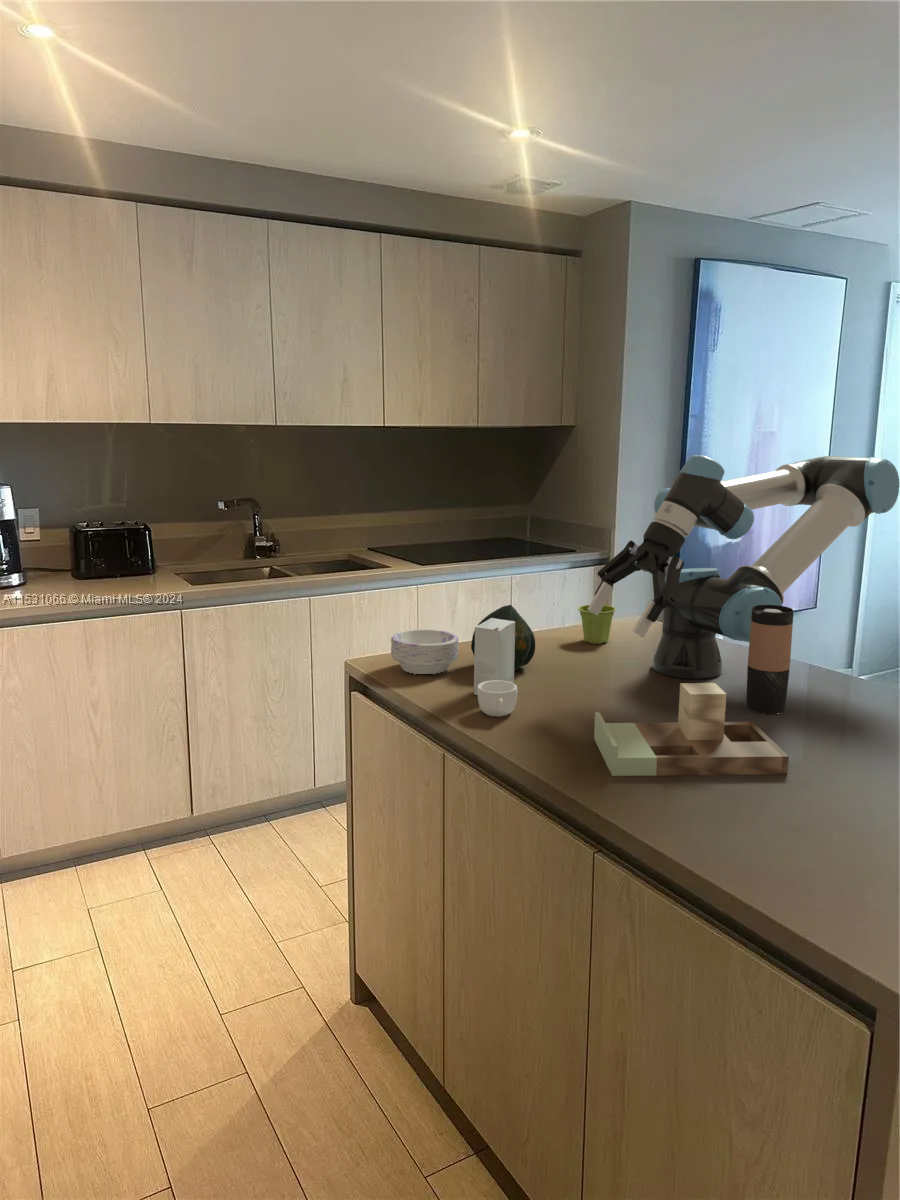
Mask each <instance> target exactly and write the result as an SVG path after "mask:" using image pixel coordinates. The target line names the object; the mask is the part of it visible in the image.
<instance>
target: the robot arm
mask: <svg viewBox="0 0 900 1200" xmlns="http://www.w3.org/2000/svg"><path fill="white" fill-rule="evenodd" d="M724 475H725V469H724V467H723V466H722V465H721V464H720V463H719V462H717V461H716V460H714V459H712V458H710V457H708V456H705V455H701V454H694V455H692V456H690V457H689V458H688V460H686V462H685V464H684V465H683V466H682V468H681V470H680V471H679V473H678V475H677V477H676V478H675V480H674V481H673V484H672V486H671V487H667V488H663V489H662V490H660V491H659V492H658V493H657V495H656V497H655V500H654V504H653V505H654V507H653V508H654V512H655V515H654V517H653V519H654V520H653V521H652V522H650V523H649V525H648V527H647V528H646V529H645V532H644V534H643V536H642V537H643V541H642V543H640V545H639V544H637V543H636V542H635V541H633V540H629V541H628V542H627V543H626V545H625V547H624V548H623V549H622V550H621V551H620V552H619V553H617V554H616V555H615V556H614V557H613V558H612V559H610V561H609V562H607V563H606V564H605V565H603V567H602V568H601V569H600V570H598V571H597V576H598V577H599V578H600V580H601V582H600V584H599V585H598V587H597V589H596V591H595V592H594V597H593V598H592V600H591V602H590V603H589V604H588V605H589V607H588V609H587V610H589V611H590V612H592V613H593V614H595V615H597V616H598V615H599V613H600V611H601V609H602V608H603V606H604V605H606V603H607V601H608V599H609V597H610V595H612V592H613V591H614V589H615V588H614V585H615V584H616V583H618V582H619V581H622V580H623V579H625V578H627V577H628V576H630V575H631V574H633V573H635V572H640V571H644V572H645V573H646V572H648V573H650V574H651V575H652V587H653V588H652V589H653V599H652V601H651V600H650V601H649V602H648V604H647V606H646V607H645V608H644V611H643V612H642V614H641V616H640V617H639V619H638V621H637V623H636V624H635V626H634V628H633V629H632V631H633V632H634V633H635V634H636V635H638V636H639V637H641V638H644V637H645V636H646V634H647V633H648V631H649V629H650V628H651V626H652V624H653V623H656V621H657V620H658V619H659V617H660V615H661V613H662V625H661V628H662V629H661V630H662V632H661V636H660V639H659V642H658V644H657V648H656V650H655V653H654V655H653V658H652V669H653V670H654V671H655V672H658V673H659V674H662V675H664V676H667V677H668V676H670V677H674V678H681V679H690V680H691V679H692V680H693V679H697V680H698V679H699V680H701V679H710V678H714V677H718V676H719V675H721V674H723V673H722V672H723V660H722V657H721V652H720V649H719V646H718V642H717V635H720V636H724V637H726V638H729V639H730V640H733V641H739V642H745V643H749V641H750V628H751V616H752V607H754V606H757V605H778V606H783V604H784V602H785V600H784V599H785V598H784V593H785V592H786V591H787V590H788V589H789V588H790V587H791V586H792V584H794V583H795V582H796V581H797V579H798V578H800V577H801V576H802V575H803V574H804V572H805V571H806V570H807V569H808V568H809V567H810V566H811V565H812V564H813V563H814V562H815V561H816V560H817V559H818V558H819V557H820V556H821V555H822V554H823V553H824V552H825V551H826V550H827V549H828V548H829V546H830V545H831V544H833V543H834V541H836V539H837V538H839V536H840V535H841V534H842V533H843V532H845V530H846V529H847V528H848V527H850V528H852V527H857V526H859V525H861V524H862V523H863V522H864V521H865V520H866V519H867V518H868V517H870V515H871V514H873V513H875V514H878V515H880V514H885V513H887V512H889V511H890V510H892V508H894V506H895V504H896V503H897V501H898V497H899V495H900V476H899V472H898V470H897V468H896V466H895V465H894V463H892V461H890V460H889V459H886V458H880V457H875V456H871V457H856V456H855V457H854V456H837V455H826V456H819V457H814V458H809V459H804V460H800V461H795V462H791V463H787V464H783V465H780V466H779V467H777V468H776V469H775V470H774V471H767V472H764V473H763V472H762V473H757V474H752V475H748V476H741V477H736V478H732V479H726V480H723V477H724ZM780 504H781V505H783V506H786V507H792V506H798V505H799V506H800V505H802V506H809V507H808V508H807V510H805V512H804V513H802V515H800V516H799V517H798V519H797V520H796V521H795V522H793V524H792V525H791V526H789V527H788V528H787V530H785V532H784V533H783V534H782V535H780V537H778V538H777V540H776V541H775V542H774V543H773V544H771V546H770V547H769V548H768V549H767V550H766V551H764V552H763V554H762V555H761V556H760V557H758V559H756V561H755V562H754V563H753V564H752V565H741V566H740V567H738V568H737V570H735V571H734V572H733V573H732V574H731V575H730V576H729V577H728V578H721V573H720V570H719V569H718V568H716V567H715V568H714V567H713V568H712V567H696V568H695V567H693V568H684V566H685V561H683V560H682V558H680V557H679V556H677V555H678V554H679V553H680V551H681V549H682V547H683V546H684V543H685V542H686V539H685V538H687V537H689V535H690V534H691V532H692V530H693V529H694V527H696V528H701V529H702V528H704V529H710V530H714V531H717V532H718V533H719V534H720V535H721V536H723V537H725V538H727V539H729V540H737V539H740V538H742V537H744V536H745V535H746V534H747V533H748V532H749V531H750V530H751V528H752V526H753V524H754V521H755V514H754V511H753V510H756V509H762V508H766V507H770V506H777V505H780ZM666 568H667V569H666ZM666 570H667V571H666ZM666 572H667V573H666Z"/></svg>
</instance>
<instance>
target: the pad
mask: <svg viewBox="0 0 900 1200" xmlns="http://www.w3.org/2000/svg"><path fill="white" fill-rule="evenodd" d="M635 723H636V722H605V720H604V718H603V716H602V715H601V712H598V711H596V712H594V731H593V732H594V735H593V736H594V737H593V740H594V741H595V744H596V746H597V748H598V749H599V752H600V754H601V756H602V758H603V760H604V762H605V764H606V766H607V769H608V771H609V773H610V774H611V776H612V777H625V776H626V777H628V776H629V777H634V776H637V777H638V776H641V777H642V776H646V777H648V776H650V777H651V776H656V777H657V775H656V766H657V757H656V756H655V754H654V752H653V751H652V749H651V748H650V746H649V745H648V743H647V742H646V740H645V739H644V737H643V736H642V734H641V732H640V731H639V729H638V728H637V726H636V725H635Z"/></svg>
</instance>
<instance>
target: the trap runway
mask: <svg viewBox="0 0 900 1200" xmlns="http://www.w3.org/2000/svg"><path fill="white" fill-rule="evenodd" d="M634 723H635V725H636V726H637V728H638V729H639V731H640V732H641V734H642V736H643V737H644V739H645V740H646V742H647V743H648V745H649V746H650V748H651V749H652V751H653V752H654V754H655V756H656V757H657V766H656V776H729V775H730V776H731V775H732V776H733V775H734V776H737V775H738V776H740V775H742V776H743V775H744V776H745V775H749V776H750V775H788V773H789V771H788V770H789V760H790V759H789V758H790V756H789V755H788V754H787V753H786V752H785V751H784V749H782V748H781V747H780V746H779V745H778V744H777V743H775V742H774V741H773V739H772V738H770V737H769V736H768V735H767V734H766V733H765V732H764V731H763V730H762V729H761V728H760V727H759V726H758V725H757V724H755V722H754V721H725V724H724V740H687V739H686V737H685V736H684V735H683V733H682V732H681V731H680V730H679V728H678V721H677V722H674V721H673V722H634ZM749 741H750V742H749Z"/></svg>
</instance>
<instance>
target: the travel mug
mask: <svg viewBox="0 0 900 1200" xmlns="http://www.w3.org/2000/svg"><path fill="white" fill-rule="evenodd" d="M793 623H794V609H793V608H791V607H788V606H783V605H782V606H778V605H757V606H754V607H752V616H751V628H750V641H749V642H748V643H749V644H748V645H749V646H748V657H747V670H746V671H747V673H746V675H747V676H746V698H745V699H746V701H745V702H746V704H745V705H746V708H748V709H747V710H749V709H750V710H752V711H751V712H753V711H755V712H754V713H756V712H758V713H757V714H760V713H764V714H763V715H769V714H774V715H778V714H777V713H781V714H783V713H784V712H785V711H786V704H787V696H788V695H787V694H788V685H789V679H790V678H789V677H790V667H791V657H792V656H791V655H792V654H791V653H792V643H793V642H792V641H793V626H794V624H793ZM750 710H749V711H750ZM782 712H783V713H782Z"/></svg>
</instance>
